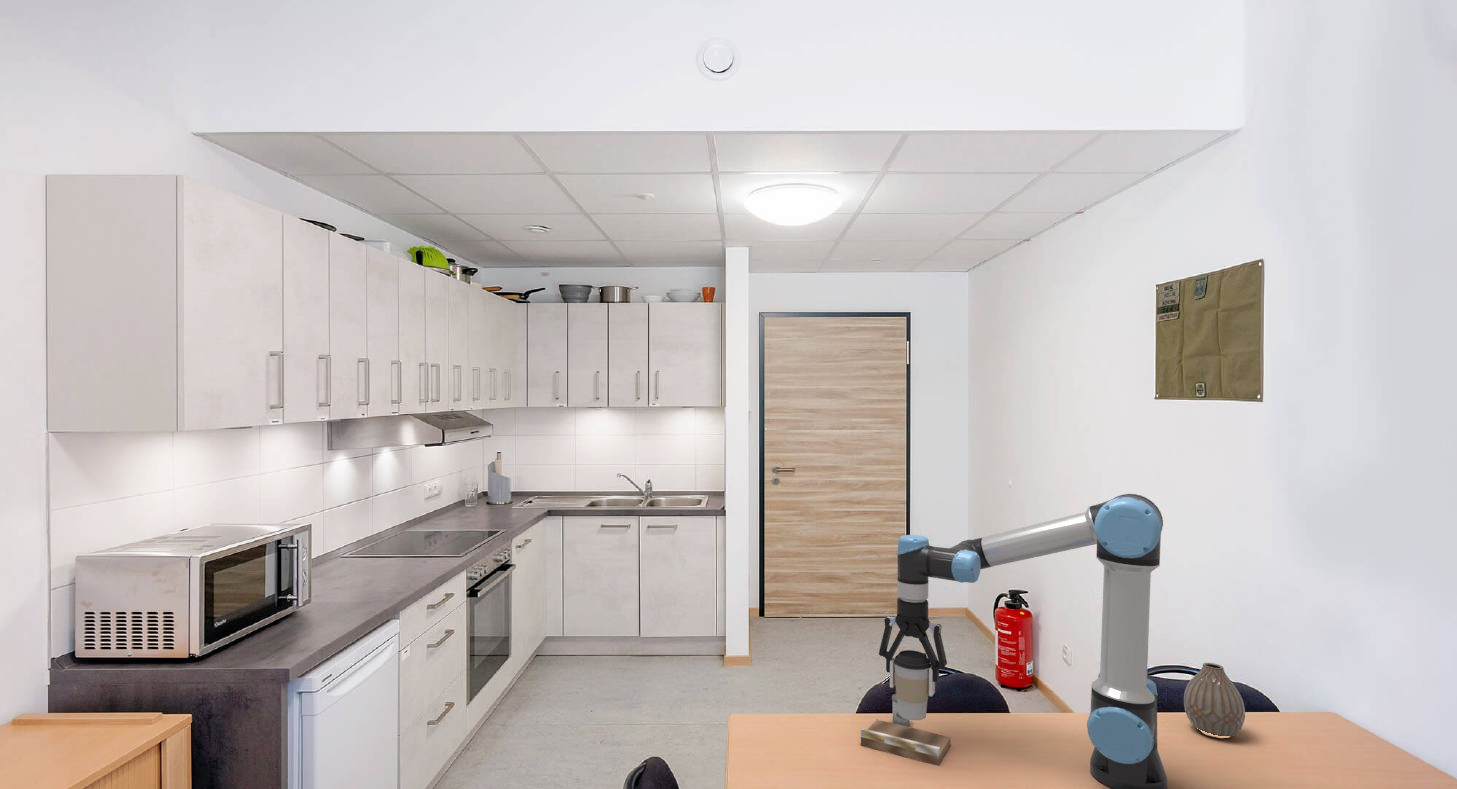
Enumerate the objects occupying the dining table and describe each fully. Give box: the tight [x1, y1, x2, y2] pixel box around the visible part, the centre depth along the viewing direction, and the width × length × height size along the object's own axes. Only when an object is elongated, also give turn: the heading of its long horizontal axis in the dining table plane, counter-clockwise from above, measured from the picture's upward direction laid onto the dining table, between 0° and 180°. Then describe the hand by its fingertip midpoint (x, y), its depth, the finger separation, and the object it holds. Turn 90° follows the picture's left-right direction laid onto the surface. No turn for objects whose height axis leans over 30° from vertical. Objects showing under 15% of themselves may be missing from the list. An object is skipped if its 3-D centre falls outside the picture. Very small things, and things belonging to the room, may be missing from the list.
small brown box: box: [860, 718, 952, 766], centre depth 171 cm, size 19×12×4 cm, turn 59°
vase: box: [1183, 662, 1246, 737], centre depth 180 cm, size 13×13×18 cm
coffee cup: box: [894, 649, 931, 721], centre depth 171 cm, size 9×9×15 cm
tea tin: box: [891, 693, 911, 727], centre depth 183 cm, size 5×5×7 cm
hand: (912, 689), depth 171 cm, fingers closed on coffee cup, 9 cm apart
